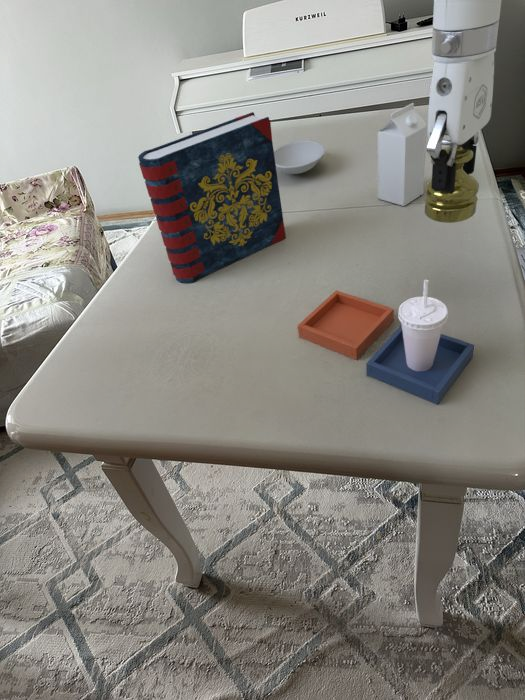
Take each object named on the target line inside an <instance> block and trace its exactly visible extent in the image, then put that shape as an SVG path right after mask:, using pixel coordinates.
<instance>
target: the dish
mask: <svg viewBox="0 0 525 700" xmlns="http://www.w3.org/2000/svg"><path fill="white" fill-rule="evenodd" d="M273 150H274V157H275V164H276V169H278V170H279V171H281V172H282V173H285V174H288V175H299V174H303V173H306V172H308V171H310V170H311V169H313V168H314V167H315V166H316V165H317V164H318V163H319V161H320V160H321V159H322V158H323V156H325V153H326V148H325V145H323V143H321V142H319V141H316V140H309V139H300V140H294V141H290V142H289V141H288V142H287V143H283V144H280V145H279V146H277V147H276V148H273Z"/></svg>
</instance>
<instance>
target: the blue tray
mask: <svg viewBox="0 0 525 700" xmlns="http://www.w3.org/2000/svg"><path fill="white" fill-rule="evenodd" d="M474 352H475V344H473V343H470V342H468V341H464V340H461V339H458V338H455V337H452V336H450V335H447V334H446V335H445V334H443V333H441V335H440V339H439V343H438V347H437V351H436V354H435V358H434V362H433V366H432V367H431V368H430V369H429V370H427V371H414V370H412V369H410V368H409V367H408V366H407V362H406V354H405V347H404V339H403V331H402V324H401V325H400V326H399V327H398V328H397V329H396V330H395V331H394V332H393V333H392V334H391V336H389V338H388V339H387V340H386V341H385V342H384V343H383V344H382V346H381V347H379V349H377V351H376V352H375V353H374V354H373V355H372V356H371V357H370V359H369V360H368V361H367V362H366V364H365V365H366V368H365V369H366V376H367V377H370V378H372V379H375V380H377V381H380V382H382V383H384V384H387V385H390V386H392V387H395V388H397V389H399V390H401V391H404V392H406V393H409V394H411V395H413V396H416V397H418V398H420V399H423V400H425V401H428V402H430V403H433V404H435V405H439V404H440V402H441V401H442V399H443V398H444V397H445V396H446V394H447V393H448V392H449V391H450V389H451V387H452V386H453V385H454V384H455V382H456V381H457V379H459V376H460V375H461V374H462V373H463V371H464V370H465V369H466V367H467V366H468V364H469V363H470V362H471V361H472V360H473V357H474Z"/></svg>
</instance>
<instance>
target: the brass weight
mask: <svg viewBox="0 0 525 700" xmlns="http://www.w3.org/2000/svg"><path fill="white" fill-rule="evenodd" d="M449 148H450V145H447V146H445V147H444V148H443V147H442V149H443V150H446V152H447V153H449ZM472 158H473V151H472V150H471V149H469V148H467V147H464V146H461V145H457V150H456V154H455V159H454V163H455V164H457V165H456V177H455V189H454V191H453V192H451V193H450V192H444V191H438V190H433V189H432V187H431V186H432V178H430V179H429V181H427V182H426V184H425V185H424V186H425V187H424V192H425V198H424V214H425V216H426V217H427V218H429V219H430V220H432V221H434V222H438V223H445V224H454V223H461V222H463V221H467V220H468V219H469V220H470V219H471V218H472V217H473V216H474V215H475V214H476V212H477V203H478V200H479V199H478V196H477V195H478V192H479V189H480V183H479V181H478V180H477V178H476V177H474V176H472V175H471V174H468V173H467V172H466V171H465V170H464V169H463V166H464V165H465V164H466V163H467V162H468V161H470V160H471V159H472Z"/></svg>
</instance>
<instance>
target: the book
mask: <svg viewBox="0 0 525 700" xmlns="http://www.w3.org/2000/svg"><path fill="white" fill-rule="evenodd" d="M271 123H272V122H271V119H270V117H269V116H266V117H263V118H262V117H259V116H257V115H256V114H255V112H252V111H251V112H249V113H246V114H244V115H239V116H237V117H235V118H233V119H230V120H227V121H224V122H222V123H219V124H217V125H213V126H210V127H207V128H205V129H203V130H199V131H198V132H197V131H196V132H195V133H192V134H189V135H186V136H184V137H180V138H177V139H175V140H173V141H170V142H167V143H164V144H161V145H158V146H156V147H153V148H151V149H147V150H144V151H142V152H141V153H140V154H139V155H138V156H137V158H138V161H139V168H140V171H141V174H142V175H141V176H142V177H143V179H144V184H145V188H146V191H147V194H148V197H149V198H150V204H151V206H152V210H153V213H154V215H156V216H155V219H156V224H157V227H158V230H159V231H160V234H161V239H162V242H163V246H164V247H165V251H166V254H167V258H168V261H169V262H170V266H171V270H172V275H173V276H174V277H175V279H176V281H177V282H179V283H182V284H193V283H195V282H197V281H198V280H200V279H202V278H205V277H207V276H209V275H211V274H213V273H215V272H217V271H219V270H221V269H223V268H225V267H228V266H229V265H232V264H234V263H236V262H238V261H240V260H242V259H244V258H246V257H249V256H251V255H252V254H255V253H257V252H259V251H261V250H264V249H266V248H268V247H269V246H272V245H274V244H277V243H279V242H281V241H283V240H284V239H286V238H287V237H286V236H287V235H286V229H285V222H284V215H283V208H282V202H281V194H280V186H279V180H278V173H277V167H276V164H275V157H274V143H273V133H272V124H271Z"/></svg>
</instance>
